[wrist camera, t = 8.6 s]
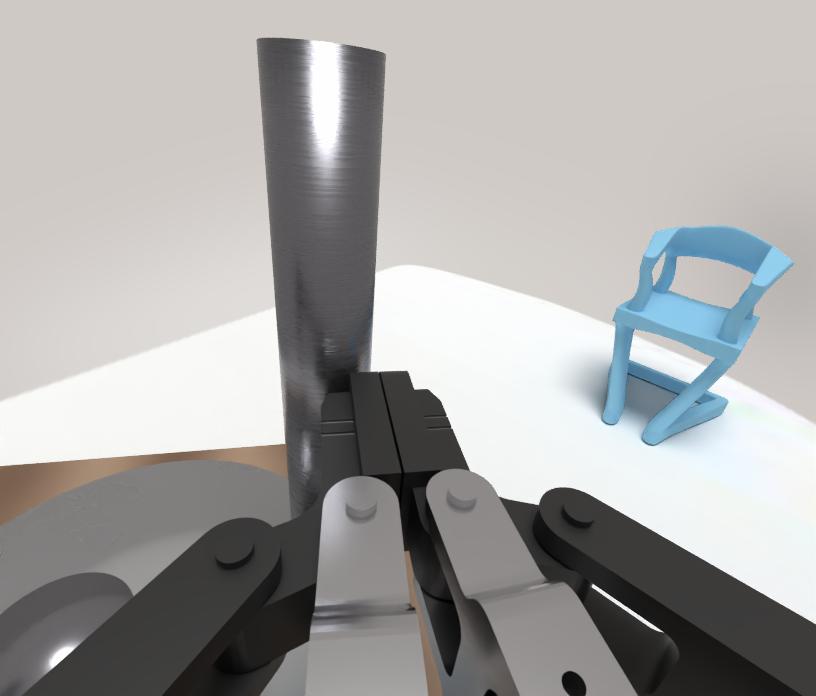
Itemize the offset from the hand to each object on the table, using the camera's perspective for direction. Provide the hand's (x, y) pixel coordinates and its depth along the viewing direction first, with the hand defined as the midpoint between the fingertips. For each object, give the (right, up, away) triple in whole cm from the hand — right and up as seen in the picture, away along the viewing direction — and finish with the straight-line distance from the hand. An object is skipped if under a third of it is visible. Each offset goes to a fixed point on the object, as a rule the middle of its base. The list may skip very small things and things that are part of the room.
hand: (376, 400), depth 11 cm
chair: (+17, -3, +18) cm, 25 cm away
